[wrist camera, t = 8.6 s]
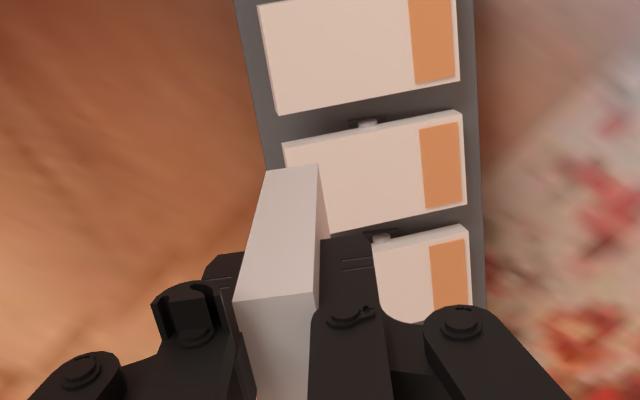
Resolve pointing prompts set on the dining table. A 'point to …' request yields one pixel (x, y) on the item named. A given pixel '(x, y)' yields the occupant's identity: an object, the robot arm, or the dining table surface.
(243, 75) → the dining table surface
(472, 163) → the power strip
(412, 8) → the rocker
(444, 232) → the rocker
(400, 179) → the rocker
